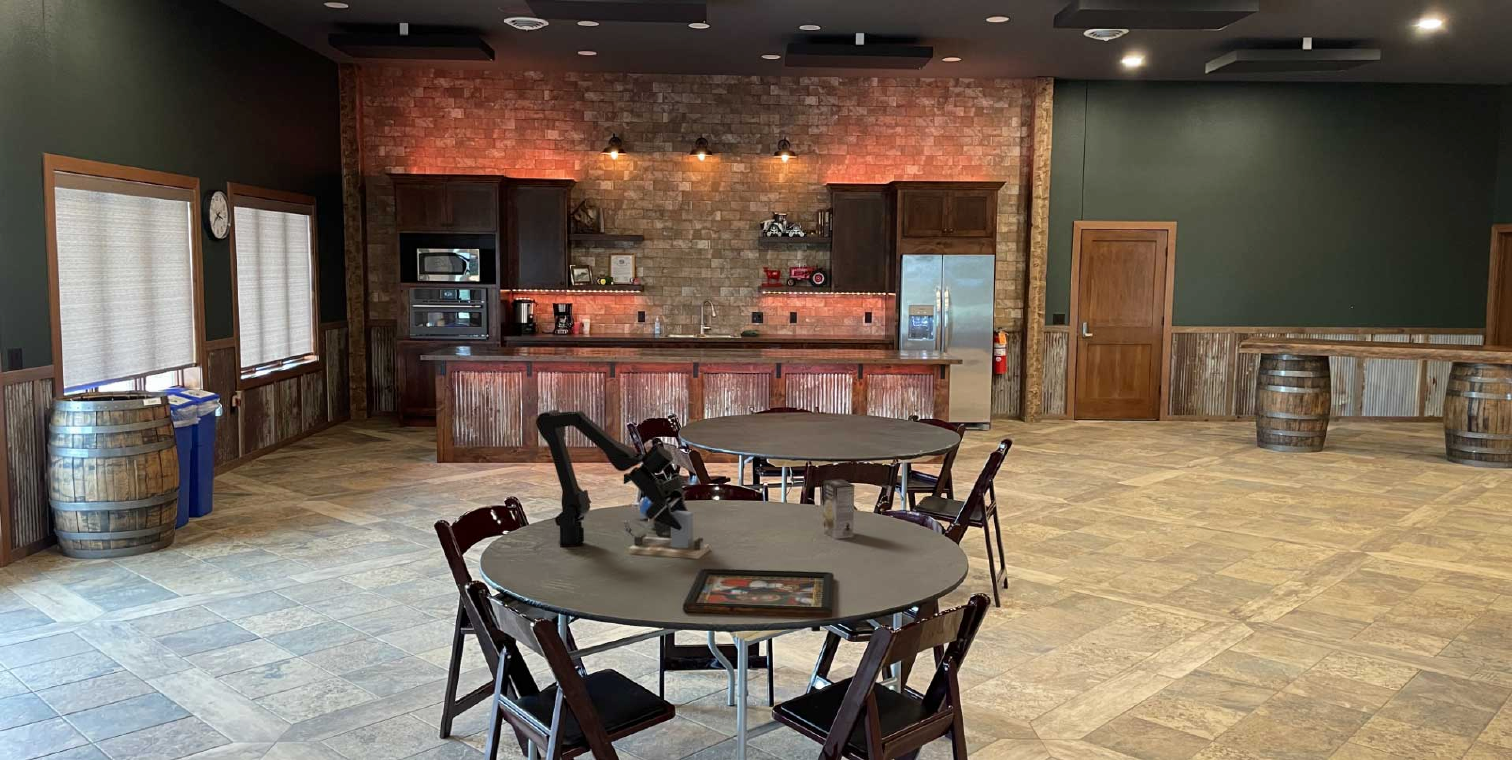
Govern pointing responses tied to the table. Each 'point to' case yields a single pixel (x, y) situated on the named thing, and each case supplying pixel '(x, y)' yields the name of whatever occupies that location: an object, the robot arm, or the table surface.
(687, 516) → the pale blue rectangular block
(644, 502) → the blue mole toy
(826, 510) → the coffee box
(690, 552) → the rail
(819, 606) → the framed painting
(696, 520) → the table surface
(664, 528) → the clip-on lamp
